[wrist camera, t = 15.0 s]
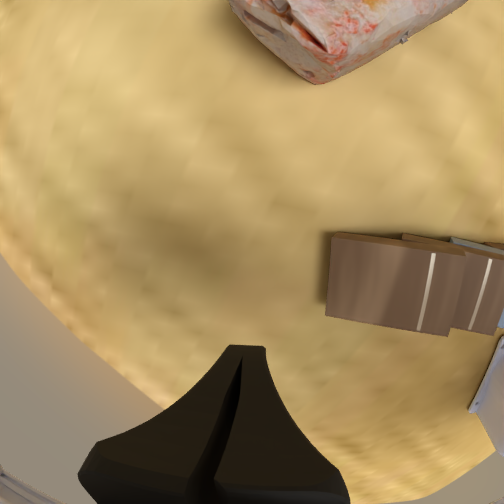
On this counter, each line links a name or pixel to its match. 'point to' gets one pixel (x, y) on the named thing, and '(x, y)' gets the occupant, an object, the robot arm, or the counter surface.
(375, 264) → the domino
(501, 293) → the domino
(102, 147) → the counter surface
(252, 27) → the food item
